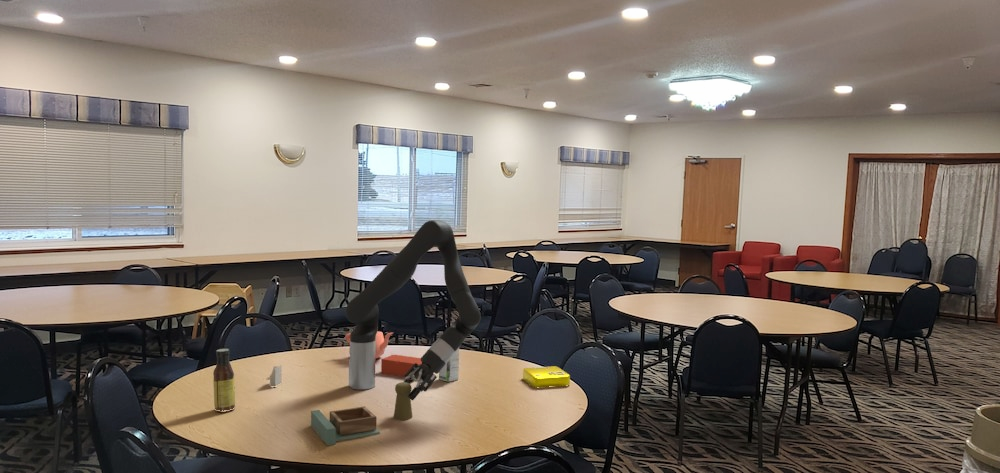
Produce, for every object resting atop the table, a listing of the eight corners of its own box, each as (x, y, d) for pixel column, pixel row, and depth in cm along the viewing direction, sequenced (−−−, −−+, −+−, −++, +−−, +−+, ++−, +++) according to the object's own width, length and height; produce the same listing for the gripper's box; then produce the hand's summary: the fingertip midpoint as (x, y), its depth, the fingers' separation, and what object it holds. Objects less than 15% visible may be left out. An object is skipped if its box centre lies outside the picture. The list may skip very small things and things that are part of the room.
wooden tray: (329, 423, 197) (329, 411, 197) (364, 418, 202) (364, 406, 202) (340, 435, 187) (340, 422, 187) (376, 429, 193) (376, 416, 193)
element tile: (556, 376, 260) (556, 364, 259) (571, 386, 245) (571, 374, 245) (521, 378, 255) (521, 366, 255) (534, 389, 241) (534, 377, 241)
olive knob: (394, 413, 210) (394, 380, 209) (413, 413, 210) (413, 380, 210) (392, 420, 204) (393, 385, 203) (412, 420, 204) (412, 385, 204)
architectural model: (265, 388, 236) (265, 368, 236) (273, 383, 243) (273, 363, 243) (275, 389, 236) (275, 369, 235) (282, 383, 243) (282, 364, 242)
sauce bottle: (239, 408, 212) (239, 348, 211) (225, 414, 206) (225, 353, 205) (223, 406, 214) (222, 346, 213) (209, 411, 208) (208, 351, 207)
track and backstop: (311, 425, 198) (311, 410, 197) (362, 417, 206) (362, 403, 206) (327, 445, 182) (327, 429, 182) (382, 435, 190) (382, 420, 190)
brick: (431, 374, 259) (431, 359, 259) (419, 379, 251) (419, 364, 251) (393, 368, 266) (393, 354, 266) (380, 373, 258) (380, 358, 258)
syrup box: (438, 379, 251) (438, 342, 250) (449, 376, 255) (449, 340, 254) (448, 382, 247) (448, 344, 246) (459, 379, 251) (459, 342, 250)
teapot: (343, 357, 282) (343, 327, 281) (375, 352, 292) (376, 323, 291) (360, 365, 269) (360, 334, 268) (393, 360, 279) (394, 330, 278)
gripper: (421, 344, 217) (389, 382, 212) (439, 353, 204) (405, 393, 199) (436, 358, 220) (404, 395, 215) (454, 367, 207) (421, 408, 202)
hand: (404, 394), depth 207 cm, fingers open, 8 cm apart
